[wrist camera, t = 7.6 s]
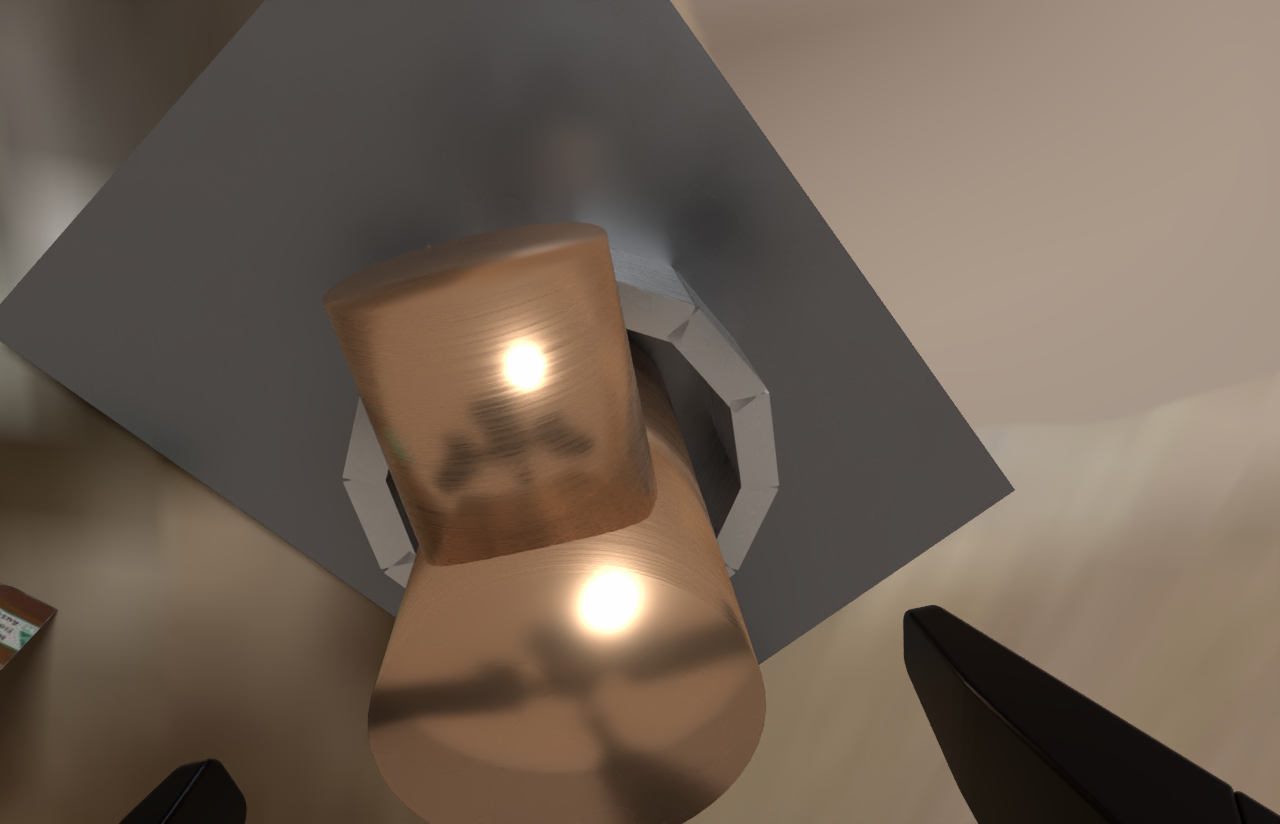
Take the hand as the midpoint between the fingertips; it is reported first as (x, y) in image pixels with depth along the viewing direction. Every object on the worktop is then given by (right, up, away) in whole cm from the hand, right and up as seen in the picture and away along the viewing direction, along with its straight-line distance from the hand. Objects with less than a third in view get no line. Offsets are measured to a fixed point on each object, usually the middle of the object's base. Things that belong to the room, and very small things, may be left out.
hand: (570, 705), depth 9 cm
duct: (-1, +4, +9) cm, 10 cm away
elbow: (-1, +5, +7) cm, 9 cm away
